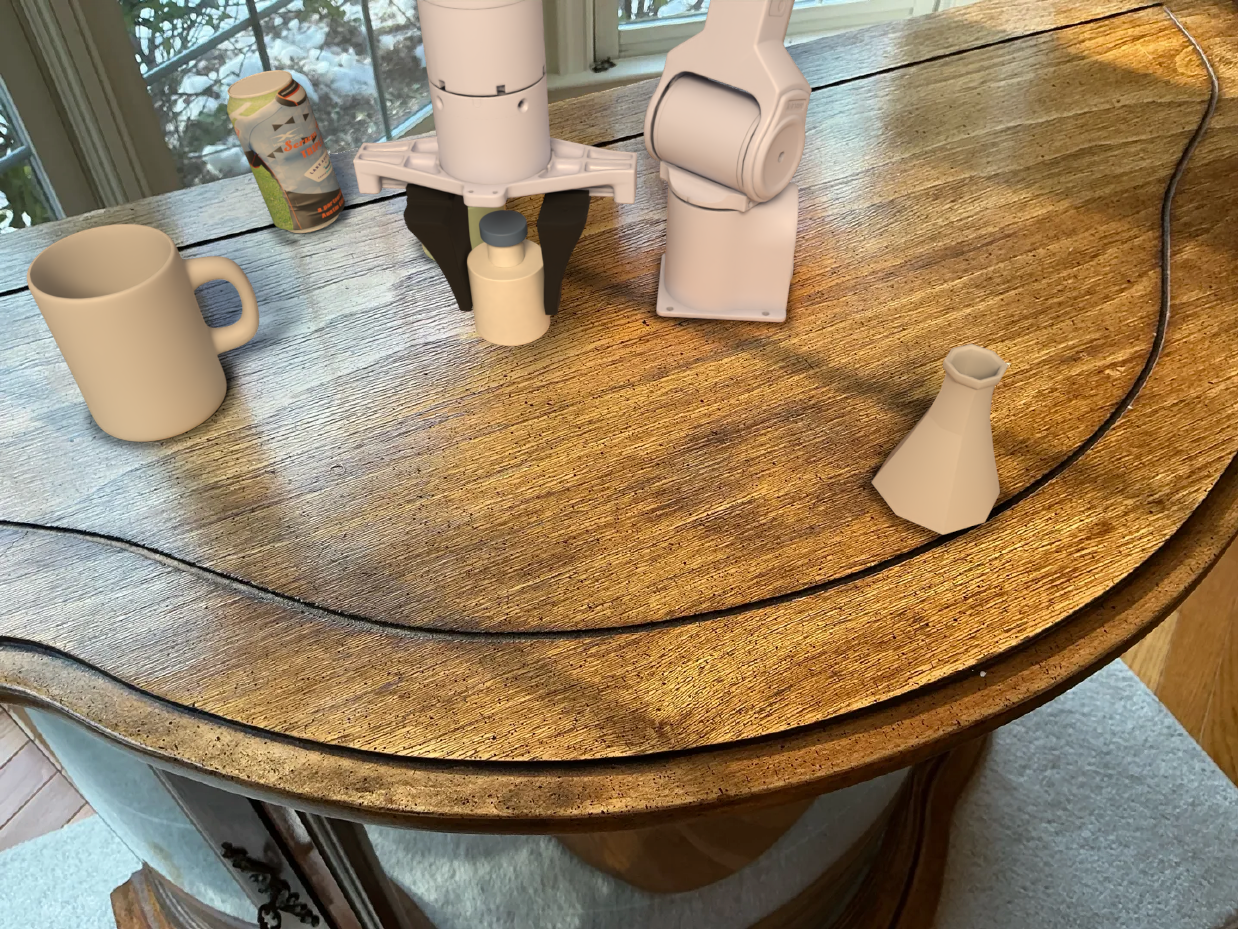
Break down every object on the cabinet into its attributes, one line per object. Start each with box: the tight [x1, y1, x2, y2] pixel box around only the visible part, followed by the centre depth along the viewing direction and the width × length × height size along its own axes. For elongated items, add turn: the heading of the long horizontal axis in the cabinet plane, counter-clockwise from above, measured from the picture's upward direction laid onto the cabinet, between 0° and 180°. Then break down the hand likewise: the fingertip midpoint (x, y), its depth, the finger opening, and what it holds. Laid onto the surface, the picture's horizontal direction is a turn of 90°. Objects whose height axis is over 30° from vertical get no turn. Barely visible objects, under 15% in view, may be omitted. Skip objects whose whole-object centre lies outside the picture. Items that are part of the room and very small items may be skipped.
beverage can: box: [226, 69, 346, 234], centre depth 78 cm, size 6×7×12 cm
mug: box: [26, 223, 260, 443], centre depth 63 cm, size 12×8×11 cm
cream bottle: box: [467, 209, 551, 347], centre depth 56 cm, size 4×4×7 cm
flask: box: [871, 343, 1009, 535], centre depth 56 cm, size 7×7×10 cm
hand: (510, 303), depth 57 cm, fingers closed on cream bottle, 4 cm apart
